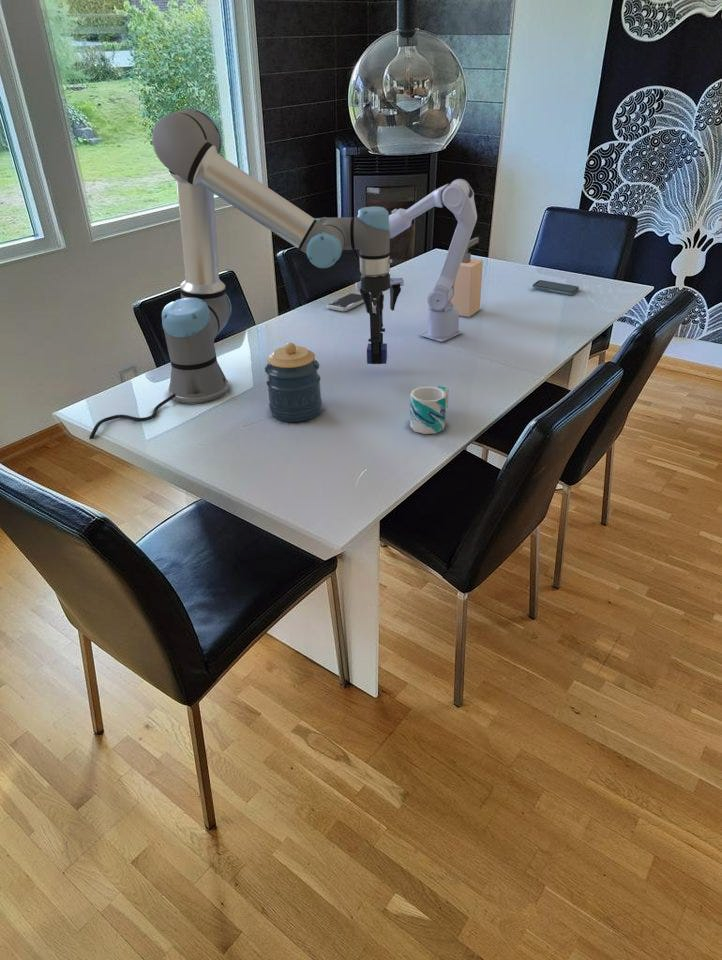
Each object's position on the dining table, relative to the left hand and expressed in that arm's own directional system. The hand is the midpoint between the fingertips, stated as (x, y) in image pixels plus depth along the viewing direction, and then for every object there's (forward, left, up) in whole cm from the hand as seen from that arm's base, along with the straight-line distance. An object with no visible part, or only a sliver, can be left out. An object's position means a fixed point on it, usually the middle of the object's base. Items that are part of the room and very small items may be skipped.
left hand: (377, 359), depth 182 cm
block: (0, 0, 0) cm, 0 cm away
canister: (-30, +3, -4) cm, 30 cm away
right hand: (+26, +18, +3) cm, 32 cm away
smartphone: (+42, +43, -4) cm, 60 cm away
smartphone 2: (+93, -11, -4) cm, 93 cm away
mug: (-16, -28, -4) cm, 32 cm away
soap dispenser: (+58, +6, -4) cm, 58 cm away
